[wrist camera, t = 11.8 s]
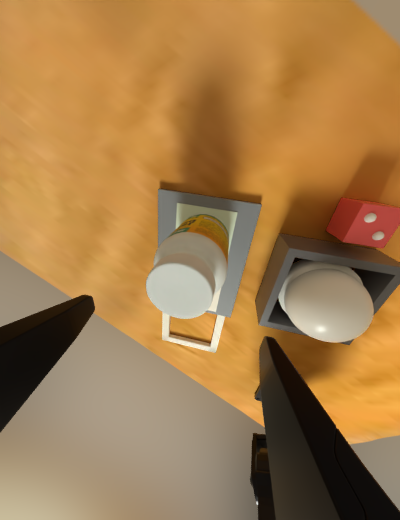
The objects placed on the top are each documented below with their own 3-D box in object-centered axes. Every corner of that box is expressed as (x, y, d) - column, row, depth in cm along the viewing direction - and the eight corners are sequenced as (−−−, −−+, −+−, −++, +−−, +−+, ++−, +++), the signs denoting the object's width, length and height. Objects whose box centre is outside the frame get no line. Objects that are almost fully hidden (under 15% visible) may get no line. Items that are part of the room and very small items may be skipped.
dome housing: (331, 317, 21) (349, 345, 17) (255, 301, 22) (258, 324, 18) (404, 206, 15) (454, 217, 11) (293, 190, 16) (309, 196, 12)
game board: (220, 350, 27) (220, 354, 27) (159, 335, 28) (157, 339, 28) (260, 203, 17) (261, 205, 16) (160, 188, 18) (157, 189, 17)
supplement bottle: (207, 269, 20) (186, 340, 12) (170, 239, 19) (119, 293, 11) (241, 236, 18) (246, 296, 9) (200, 200, 17) (164, 229, 8)
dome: (329, 314, 20) (366, 371, 14) (266, 301, 20) (278, 350, 15) (364, 260, 16) (431, 307, 11) (287, 247, 17) (313, 284, 12)
